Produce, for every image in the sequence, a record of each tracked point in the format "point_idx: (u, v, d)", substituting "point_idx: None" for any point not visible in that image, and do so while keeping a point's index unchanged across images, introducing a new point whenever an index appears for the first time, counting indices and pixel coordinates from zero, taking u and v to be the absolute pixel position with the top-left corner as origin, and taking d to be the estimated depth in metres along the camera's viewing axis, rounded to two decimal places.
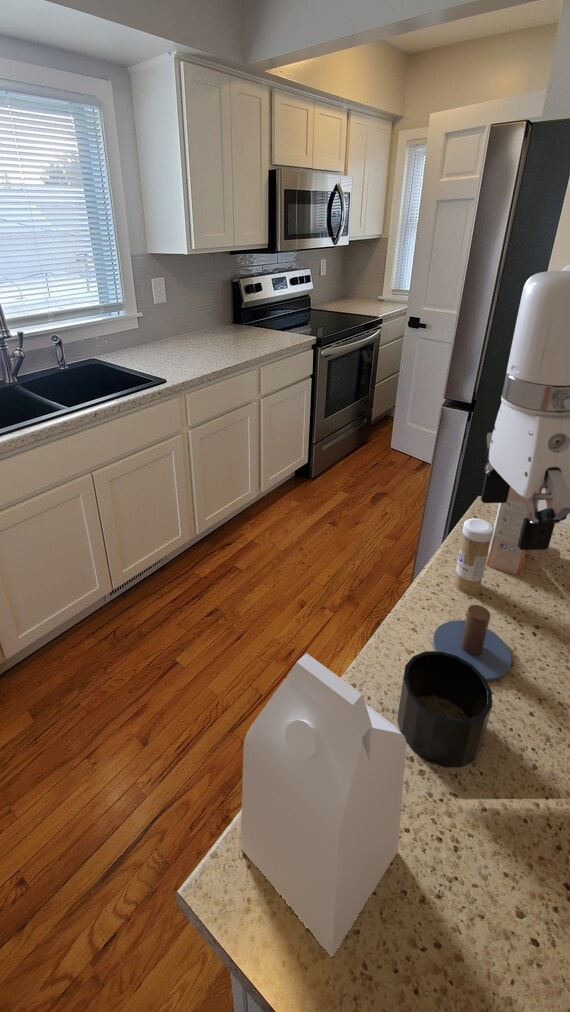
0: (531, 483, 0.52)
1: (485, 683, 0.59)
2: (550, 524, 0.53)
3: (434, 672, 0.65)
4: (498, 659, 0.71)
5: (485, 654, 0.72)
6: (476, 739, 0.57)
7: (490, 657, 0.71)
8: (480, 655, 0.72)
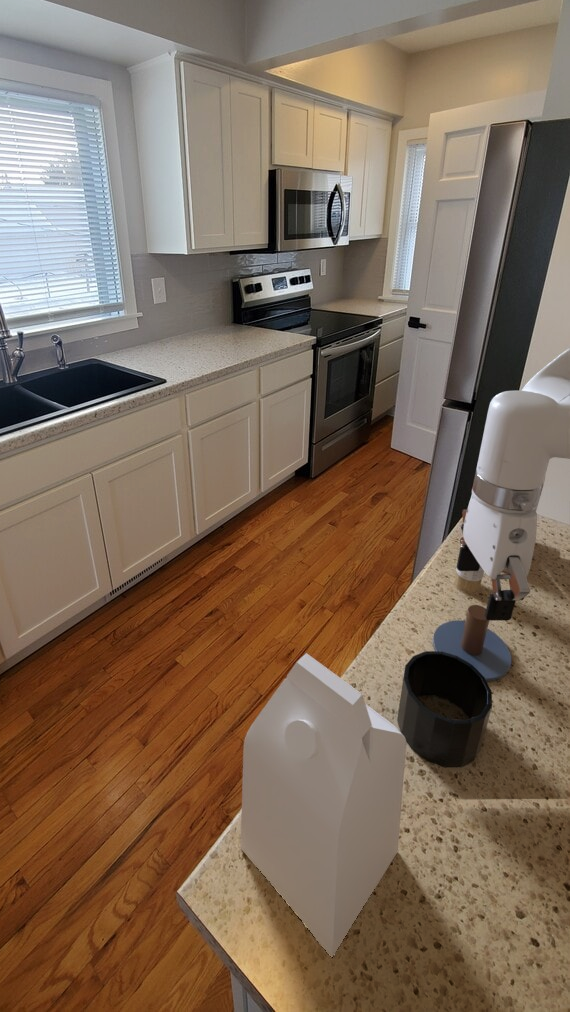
0: (495, 567, 0.61)
1: (485, 683, 0.59)
2: (511, 601, 0.62)
3: (434, 672, 0.65)
4: (498, 659, 0.71)
5: (485, 654, 0.72)
6: (476, 739, 0.57)
7: (490, 657, 0.71)
8: (480, 655, 0.72)
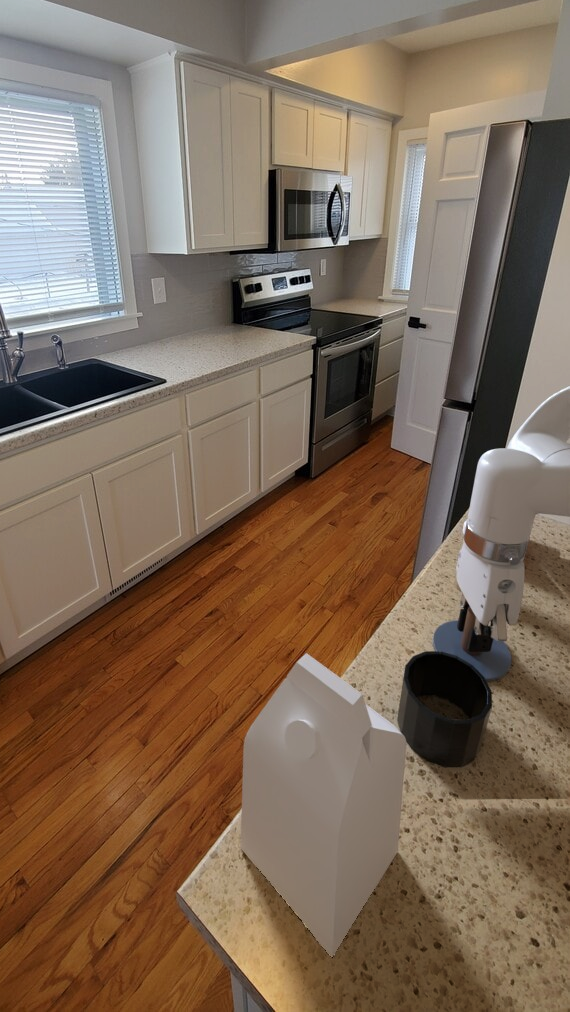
0: (486, 614, 0.64)
1: (485, 683, 0.59)
2: None
3: (434, 672, 0.65)
4: (498, 659, 0.71)
5: (485, 654, 0.72)
6: (476, 739, 0.57)
7: (490, 657, 0.71)
8: (480, 655, 0.72)
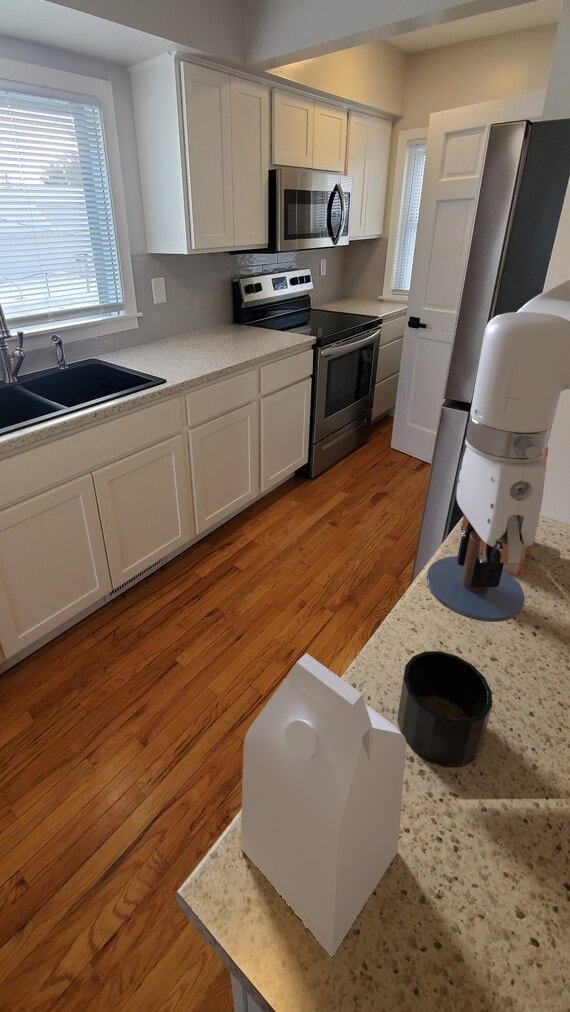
0: (494, 530, 0.50)
1: (485, 683, 0.59)
2: None
3: (434, 672, 0.65)
4: (508, 597, 0.57)
5: (491, 592, 0.58)
6: (476, 739, 0.57)
7: (498, 595, 0.57)
8: (485, 593, 0.57)
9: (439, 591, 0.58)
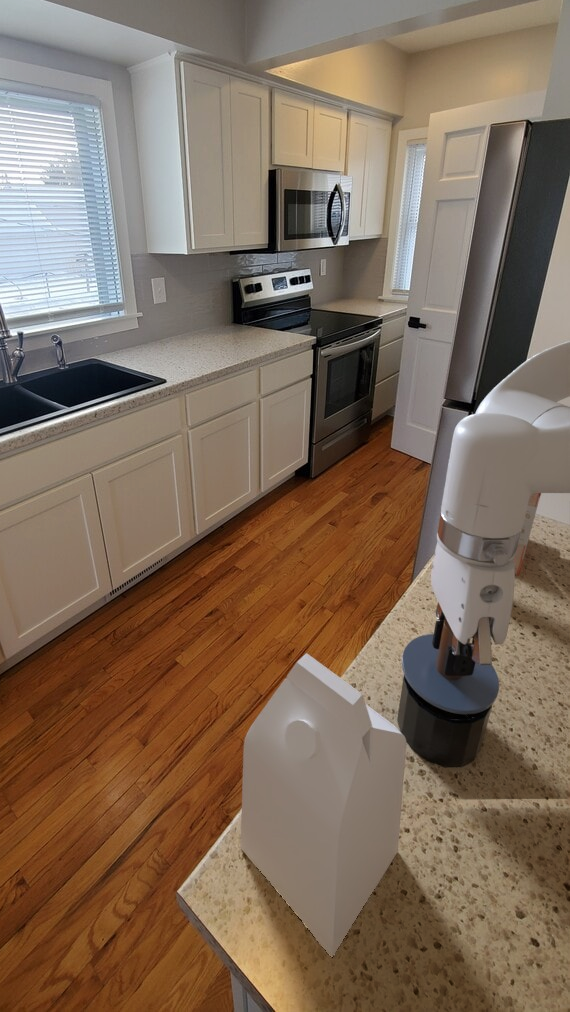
0: (465, 630, 0.49)
1: None
2: None
3: None
4: (482, 685, 0.56)
5: (466, 678, 0.57)
6: (476, 739, 0.57)
7: (472, 682, 0.56)
8: (460, 679, 0.57)
9: (413, 678, 0.57)
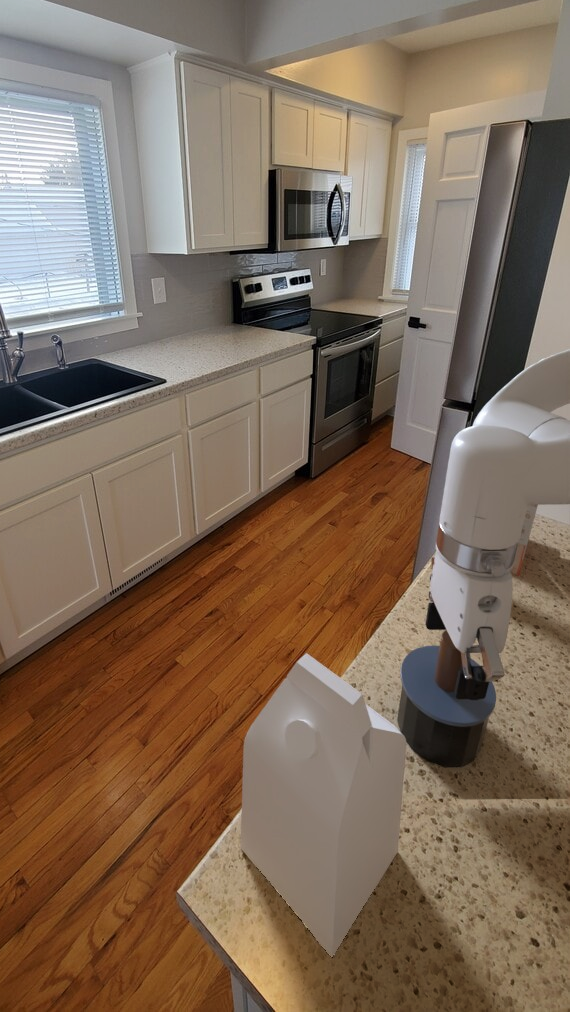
0: (463, 639, 0.50)
1: None
2: None
3: None
4: None
5: None
6: (476, 739, 0.57)
7: None
8: None
9: (411, 690, 0.58)
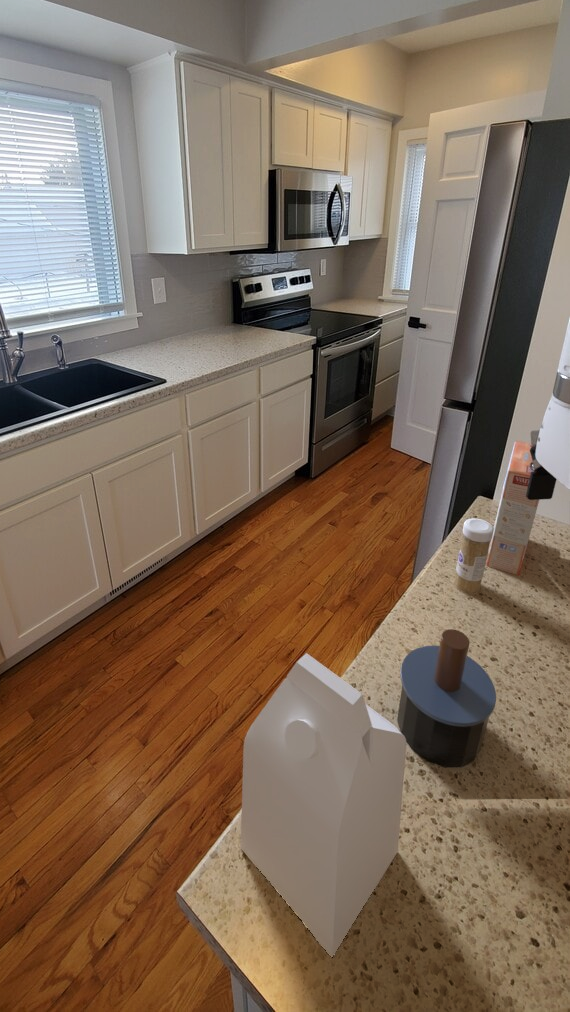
0: None
1: None
2: None
3: None
4: (479, 697, 0.57)
5: (464, 690, 0.58)
6: (476, 739, 0.57)
7: (470, 694, 0.57)
8: (457, 692, 0.58)
9: (411, 690, 0.58)
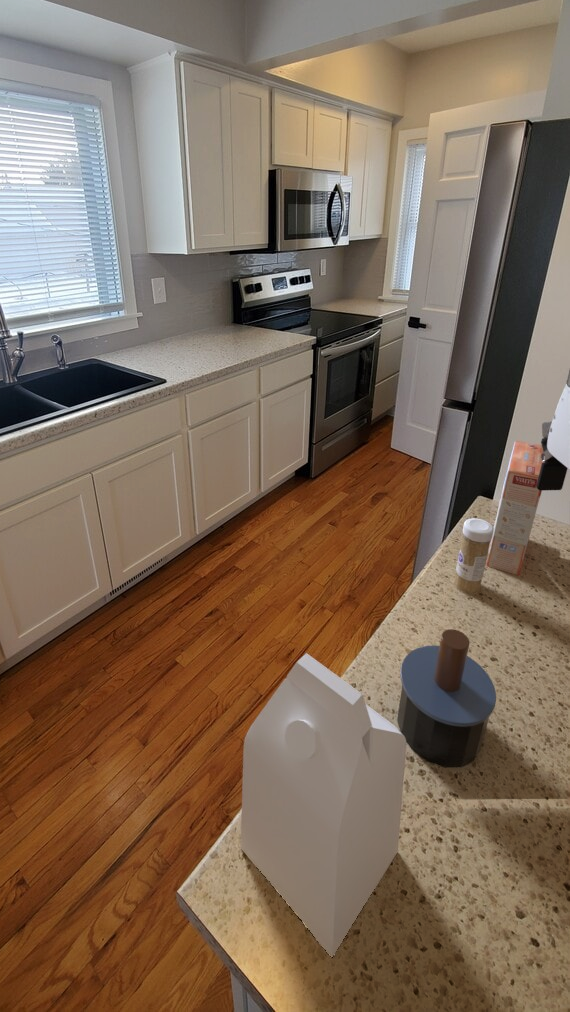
0: None
1: None
2: None
3: None
4: (479, 697, 0.57)
5: (464, 690, 0.58)
6: (476, 739, 0.57)
7: (470, 694, 0.57)
8: (457, 692, 0.58)
9: (411, 690, 0.58)
